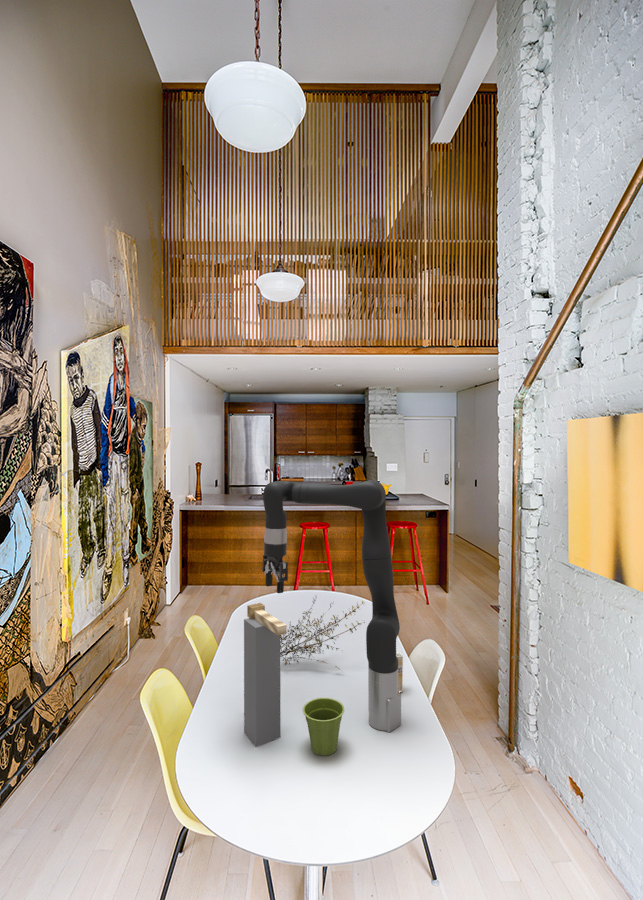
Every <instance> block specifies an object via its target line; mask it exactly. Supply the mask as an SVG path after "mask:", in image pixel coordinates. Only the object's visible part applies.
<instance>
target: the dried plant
mask: <svg viewBox="0 0 643 900" xmlns="http://www.w3.org/2000/svg"><path fill="white" fill-rule="evenodd" d="M314 596H315V598H313V599H312V600H311V601H312V603H313V604H312V605H311V607H310V608H309V609H308V610H307V611H303V612H302V614H303V615H302V620H301V619H298V620H297V621H298V622H300V623H297V624H296V625H295V626H294V625H292V621H290V622H288V623H289V627H288V626H287V625H286V628H287V627H288V629H287V634H283V635H280V644H281V645H280V658H282V660H281V661H282V662H283V663H284V665H285V666H286V665H287V664H288V665H291V663H290V661H292V660H293V661H294V662H293V663H295V662H297V663H296V664H298V665H299V660H300V659H303V660H304V659H306V657H303V656H302V655H304V654H305V653H306V654H305V656H307V654H308V657H309V658H307V660H308V661H309V660H310V661H315V660H316V662H320V663H323V664H324V663H325V664H326V662H325V661H323V660H318V659H314V658H315V656H313V654H315V655H316V654H319V655H321V652H322V655H324V650H322V646H323V643H324V642H326V641H327V642H328V641H329V640H332V642H333V644H334V645H336V643H335V641H336V638H339V636H340V635H342V634H345V633H346V632H348V631H350V633H351V634H353V633H354V631H353V629H354V630H355V631H357V629H356V627H357V626H358V625H359V627H361V625H362V624H366V622H365V621H363V622H360V623H359V621H357V620H355V621H356V623H357V625H354V623H353V622H351V626H352V628H351V627H350V628H348V625H347V624H344V626H345V627H346V628H348V629H347V630H345V631H343V632H341V633H339V634H337V635H333V634H334V631H335V628H337V627H339V626H340V625H339V623H340V622H341V621H342V620H344V619H346V620H348V619H349V618H348V616H352V613H353V614H354V616H355V615H356V614H355V613H356V612H357V611H356V610H357V609H360V605H359V603H358V602H356V607H354V605H352V606H351V611H350V608H348V610H349V613H348V614H347V612H345V614H344V611H342V613H343V614H344V616H343V617H342V618H341V619H339V614H338V615H334V614H332V616H333V618H332V617H331V618H330V621H329V622H328V623H327V624H326V625H325V623H323V621H324V620H323V617H324V616H325V615H326V613H323V614H322V616H320V619H319V618H318V617H317V618H313V620H312V621H310V619H311V617H310V615H311V614H312V610H313V608H312V607H313V606H314V605H315V602H316V598H317V594H315V595H314ZM332 604H333V602H331V601H330V603H329V605H330V606H329V607H330V608H329V609H328V610H330V609H331V608H332ZM361 605H363V606H365V603H364V601H363V600H361ZM306 617H308V619H307V618H306ZM300 620H301V621H300ZM303 620H304V621H305V620H307V623H305V622H304V621H303ZM331 620H332V621H333V622H331ZM304 623H305V625H304ZM320 624H323V628H322V627H321V625H320ZM309 628H310V629H309ZM311 629H312V630H314V631H313V632H314V633H313V632H312V630H311ZM304 631H305V632H304ZM310 633H311V634H310ZM331 635H333V636H331ZM324 636H325V637H328V639H324ZM303 637H304V638H305V640H303V641H302V642H300V640H301V639H302V638H303ZM320 637H321V639H320ZM323 639H324V640H323ZM297 640H298V642H297ZM333 640H334V641H333ZM310 641H312V644H311V643H310ZM296 642H297V644H296ZM324 645H326V649H327V650H329V649H331V650H332V651H334V649H336V651H338V650H340V648H339V647H335V648H334V647H333V646H332V645H329V644H326V643H324ZM282 648H283V650H282ZM342 653H344V652H343V651H342ZM288 654H289V655H290V656H289V657H288V658H286V657H287V656H288ZM311 657H312V658H313V659H312V658H311ZM327 664H330V663H329V662H327ZM335 668H337V669H338V670H341V669H340V668H339V667H338V666H336V665H335Z"/></svg>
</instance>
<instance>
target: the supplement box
mask: <svg viewBox="0 0 643 900" xmlns="http://www.w3.org/2000/svg"><path fill="white" fill-rule="evenodd" d="M396 657H397V658H398V692H399V691H402V692H403V681H404V679H403V676H404V675H403V669H404V667H403V665H404V664H403V663H404V662H403V660H404V659H403V658H404V657H403V655H402V653H400V652H399V651H398V650H396Z"/></svg>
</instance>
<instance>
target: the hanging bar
mask: <svg viewBox="0 0 643 900" xmlns="http://www.w3.org/2000/svg"><path fill="white" fill-rule="evenodd" d="M246 609H247V613H246V616H247V618H250V619H251V620H252V619H255V620H256V621H258V622H259V623H261V624H262V625H264V626H265V627H267V628H268V629H269V630H271V631H272V632H274V633H275V634H277V635H278V636H279V635H282V636H284V635H287V634H288V628H287V627H286V626H287V624H286V623H284V622H283V621H281V620H279V619H278V618H276V617H275V616H273V615H272V614H270V613H269V612H267V611H266V606H265V604H263V603H261V602H257V603H253V604H248V605H247V607H246ZM283 634H284V635H283Z"/></svg>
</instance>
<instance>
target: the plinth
mask: <svg viewBox="0 0 643 900" xmlns="http://www.w3.org/2000/svg"><path fill="white" fill-rule="evenodd" d="M280 639H281V638H280V635H279V636H278V635H277V634H275V633H274V632H272V631H271V630H269V629H268V628H267V627H265V626H264V625H262V624H261V623H259V622H258V621H256V620H255V619H252V620H251V619H250V618H249V617H247V618H244V619H243V702H244V703H243V720H244V721H243V727H244V728H243V733H244V734H245V736H246V737H247V738H248V740H249V741H250V742H251V743H252V744H253V745H254V747H255V748H257V747H259V746H262V745H266V744H267V743H270V742H273V741H274V740H278V739H280V738H281V657H280V652H281V649H280V648H281V647H280V646H281V642H280V641H281V640H280Z"/></svg>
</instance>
